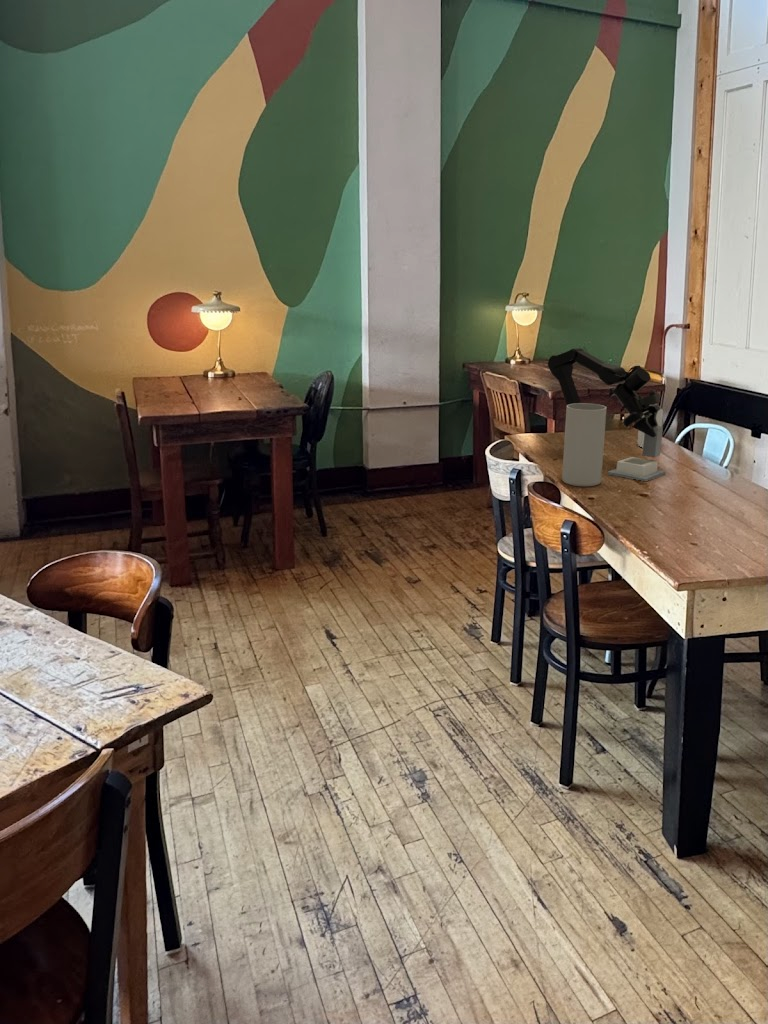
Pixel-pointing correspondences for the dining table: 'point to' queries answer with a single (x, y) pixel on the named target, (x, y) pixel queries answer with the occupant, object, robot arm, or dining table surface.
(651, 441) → the square bit
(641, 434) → the milk carton
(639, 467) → the socket block
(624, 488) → the dining table surface
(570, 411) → the cylinder vase
